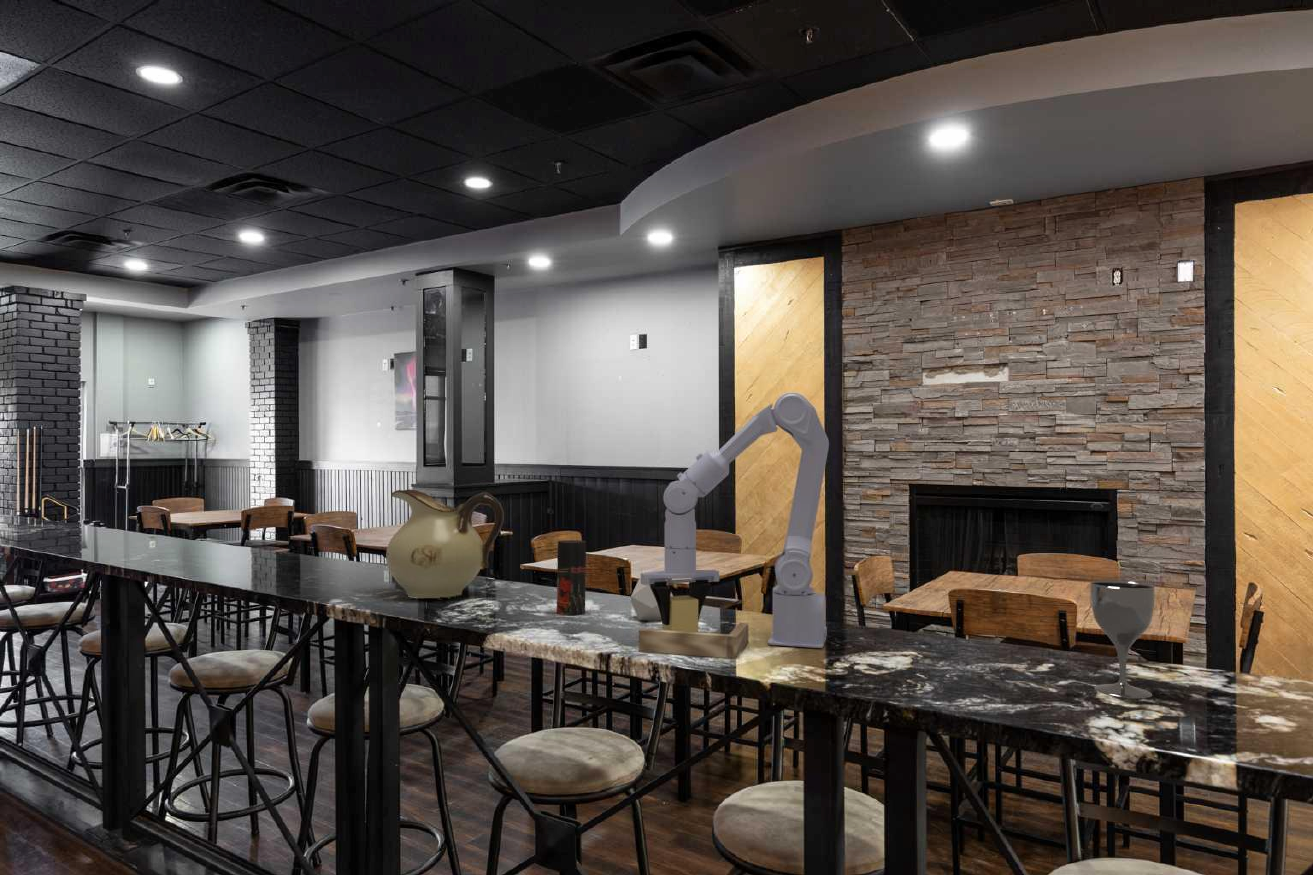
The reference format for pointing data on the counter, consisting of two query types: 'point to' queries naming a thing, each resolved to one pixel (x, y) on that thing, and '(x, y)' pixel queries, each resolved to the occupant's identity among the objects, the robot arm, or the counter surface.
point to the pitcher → (439, 545)
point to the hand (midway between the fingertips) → (680, 623)
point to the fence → (695, 642)
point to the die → (645, 602)
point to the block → (683, 614)
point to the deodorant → (571, 577)
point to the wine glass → (1122, 624)
